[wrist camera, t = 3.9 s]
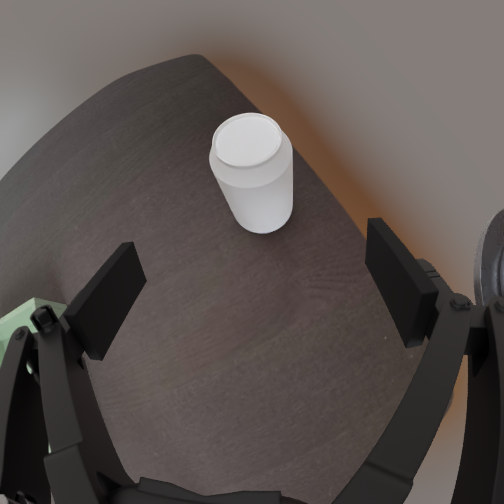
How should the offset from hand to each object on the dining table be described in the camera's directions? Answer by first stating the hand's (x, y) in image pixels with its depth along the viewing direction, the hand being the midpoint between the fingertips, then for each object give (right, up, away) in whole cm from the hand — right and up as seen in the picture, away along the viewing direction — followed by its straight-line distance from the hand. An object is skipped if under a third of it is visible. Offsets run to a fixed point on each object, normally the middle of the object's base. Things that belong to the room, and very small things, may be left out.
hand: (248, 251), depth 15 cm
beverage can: (+1, +5, +15) cm, 16 cm away
